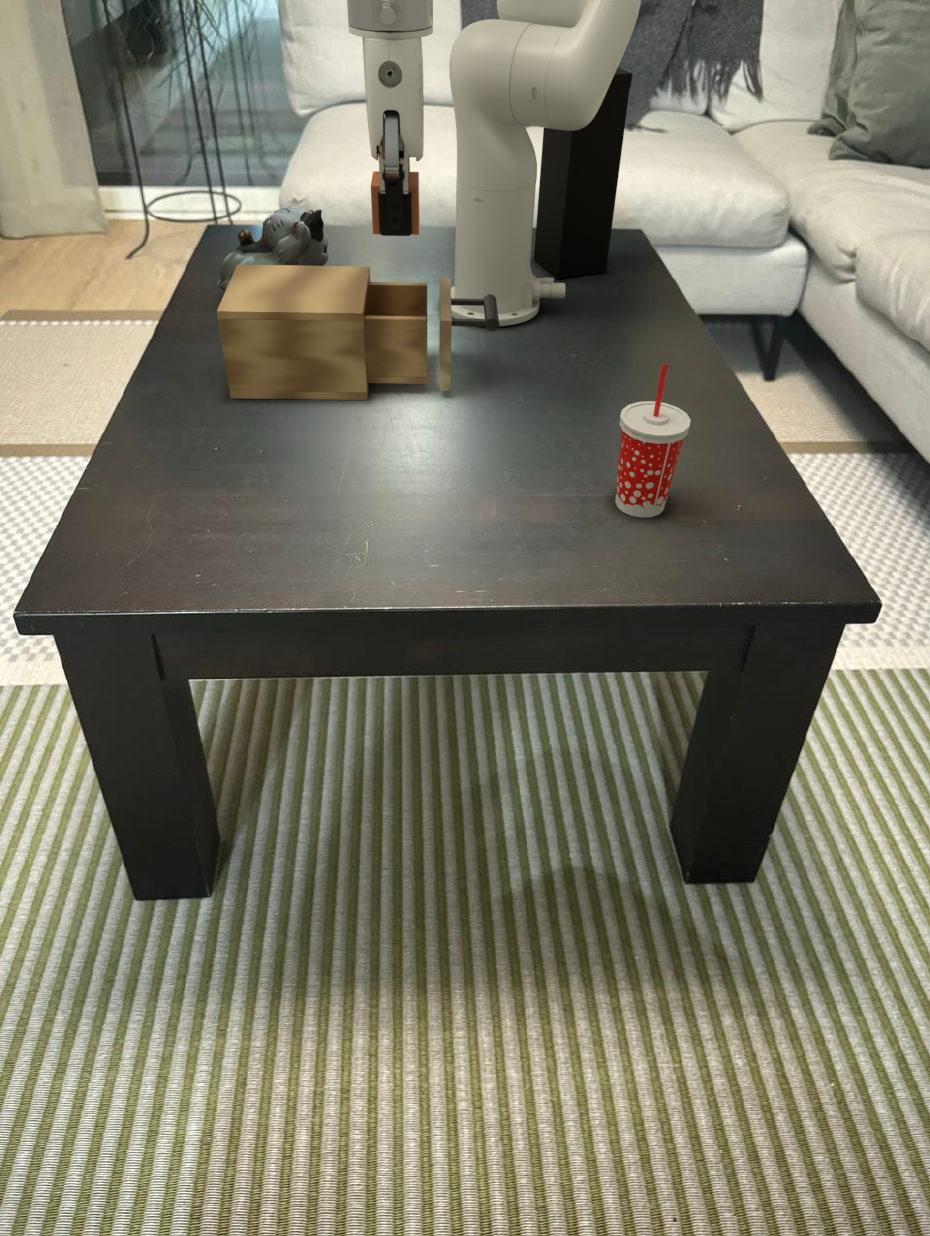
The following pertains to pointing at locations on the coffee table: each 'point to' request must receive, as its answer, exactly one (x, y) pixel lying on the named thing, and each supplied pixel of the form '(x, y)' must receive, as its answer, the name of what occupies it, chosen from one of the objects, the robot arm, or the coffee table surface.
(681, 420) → the beverage cup
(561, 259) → the tall black pillar
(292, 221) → the lucky cat figurine
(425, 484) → the coffee table surface
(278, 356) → the cabinet
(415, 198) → the block
